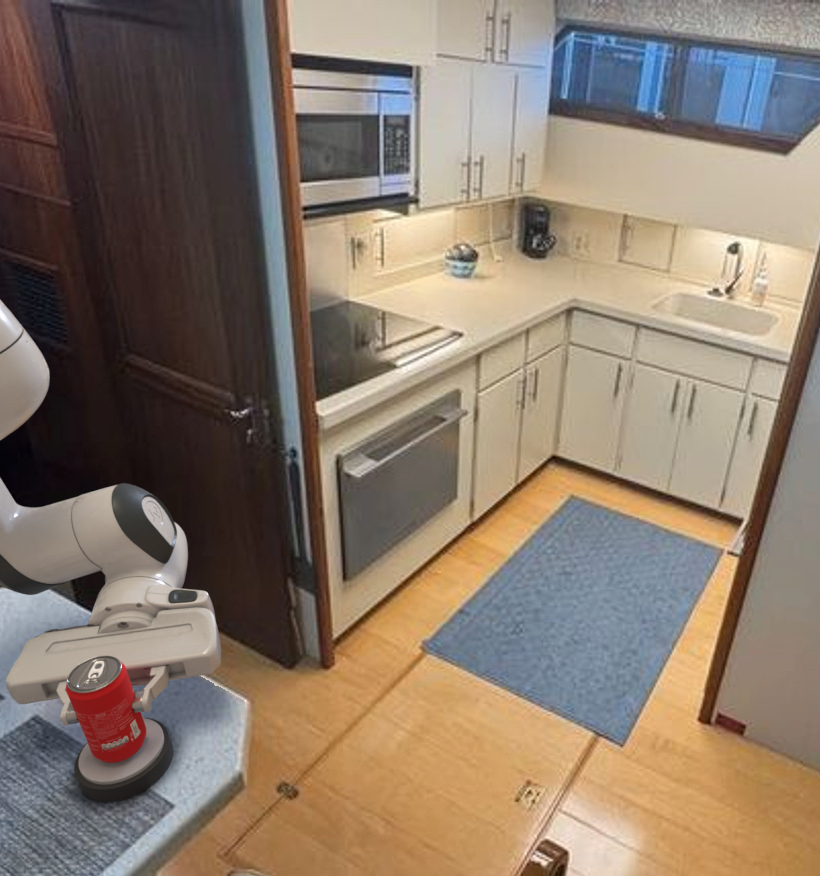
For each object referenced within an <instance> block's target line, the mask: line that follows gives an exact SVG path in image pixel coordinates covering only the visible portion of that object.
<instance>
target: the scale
mask: <svg viewBox="0 0 820 876" xmlns="http://www.w3.org/2000/svg"><path fill="white" fill-rule="evenodd" d="M143 720H144V723H145V726H146V736H145V739H144V743H143V745H142V747H141V749H140V750H139V751H138V752H137V753H136V754H135V755H133V756H132V757H130V758H129V759H127V760H125V761H122V762H118V763H105V762H103V761H101V760H100V759H97V758H96V757H94V756H93V754H92V752H91V750H90V747H89V745H88V743H87V742H86V743H85V744H84V745H83V746H82V748H81V749H80V750H79V752H78V754H77V756H76V759H75V762H74V767H73V768H74V769H73V771H74V776H75V778H76V780H77V783H78V785H79V787H80V789H81V792H82V793H83V794H84V795H85V796H86V798H89V799H90V800H92V801H96V802H99V803H113V802H114V803H115V802H120V801H125V800H128V799H130V798H133V797H136V796H138V795H139V794H141V793H143V792H144V791H146V790H148V789H149V788H150V787H153V785H154V784H155V783H157V782H158V781H159V780H160V779H161V778H162V777H163V775H165V773H166V771H167V770H168V768H169V767H170V764H171V762H172V760H173V756H174V746H173V742H172V740H171V735H170V732H169V730H168V728H167V727H166V726H165V724H163V723H162V722H161V721H159V720H157V719H155V718H150V717H143Z"/></svg>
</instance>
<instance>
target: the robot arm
mask: <svg viewBox="0 0 820 876" xmlns="http://www.w3.org/2000/svg"><path fill="white" fill-rule="evenodd" d="M50 378H51V376H50V368H49V365H48V363H47V360H46V358H45V357H44V355H43V353H42V351H41V350H40V349H39V347H38V345H37V344H36V342H35V341H34V340H33V338H32V336H30V334H29V333H28V332H27V330H26V329H25V328H24V327H23V325H22V324H21V323H20V321H19V320H18V319H17V318H16V317H15V315H14V314H13V312H12V311H11V310H10V309H9V307H7V306H6V305H5V303H4V302H3V301H2V300H1V299H0V441H2V440H3V439H5V438H6V437H8V436H9V435H11V434H12V433H14V432H15V431H17V430H18V429H20V427H21V426H23V425H24V424H26V422H27V421H28V420H29V419H30V418H31V417H32V416H33V415H34V414H35V412H36V411H37V410H38V409H39V408H40V406H41V405H42V403H43V401H44V400H45V398H46V396H47V393H48V391H49V387H50ZM188 549H189V548H188V540H187V536H186V534H185V531H184V530H183V528H182V527H181V526H180V525H179V524H178V523H177V522H176V521H174V519H173V516H172V514H171V513H170V511H169V510H168V508H167V507H166V505H165V504H164V502H163V501H162V500H160V498H159V497H157V496H156V495H154V494H153V493H150V492H149V491H147V490H145V489H144V488H142V487H140V486H137V485H134V484H131V483H126V482H121V483H119V484H114V485H110V486H108V487H103V488H99V489H97V490H94V491H89V492H86V493H82V494H80V495H78V496H75V497H71V498H68V499H64V500H61V501H57V502H54V503H51V504H46V505H44V506H37V507H31V506H23V505H20V504H19V503H17V502H16V501H15V499H14V498H13V496H12V493H10V491H9V489H8V488H7V486H6V484H5V483H4V482H3V479H2V478H1V477H0V586H1V587H3V588H4V589H7V590H9V591H11V592H15V593H17V594H21V595H26V596H27V595H28V596H35V595H39V594H41V593H43V592H46V591H48V590H51V589H53V588H54V589H55V588H56V587H59V586H60V585H63V584H66V583H68V582H70V581H72V580H75V579H78V578H82V577H85V576H89V575H91V574H95V573H97V572H102V573H103V574H104V582H105V584H104V585H103V586H102V587H101V589H100V590H99V592H98V594H97V597H96V600H95V602H94V605H93V608H92V611H91V613H90V616H89V619H88V622H87V624H83V625H75V626H70V627H66V628H60V629H59V628H53V629H48V630H44V632H43V633H42V634H39V635H36V636H34V637H33V638H32V637H31V638H29V639H28V640H26V642H25V643H24V645H23V646H22V647H23V648H22V649H21V653H20V654H19V656H18V657H17V658H16V660H15V661H14V663H13V665H12V666H11V668H10V670H9V672H8V673H7V675H6V678H5V686H6V689H7V692H8V693H9V695H10V697H11V698H12V700H13V701H15V702H16V703H17V704H18V705H27V704H28V705H29V704H34V703H41V702H45V701H52V700H57V699H58V700H59V702H60V704H61V705H62V708H61V710H60V715H59V720H60V722H61V725H62V726H64V727H65V726H69V725H76V724H80V723H79V721H78V718H77V716H76V714H75V711H74V709H73V706H72V704H71V702H70V699H69V697H68V694H67V692H66V685H67V678H68V675H69V674H70V672H71V671H72V670H73V669H74V668H75V667H76V666H77V665H79V664H80V663H82V662H84V661H86V660H88V659H91V658H94V657H98V656H113V657H116V658H117V659H119V660H120V662H122V663H123V664H124V665H125V667H126V670H127V673H128V676H129V679H130V682H131V685H132V688H134V687H139V686H143V685H144V686H145V687H144V688H143V689H139V690H133V691H134V698H133V701H132V709H134V710H133V712H134V713H140V712H141V713H146V712H151V710H152V707H153V706H152V705H153V701H154V700H155V699H156V698H157V697H158V696H159V695H160V694H161V693H162V692H163V691H164V690H165V689H166V688H167V687H168V686H169V685H168V684H169V682H171V681H175V680H177V681H178V680H182V679H188V678H189V679H190V678H193V677H194V678H195V677H201V676H208V675H211V674H213V673H215V672H216V671H217V670H218V669H219V668H220V667H221V664H222V644H221V638H220V634H219V633H220V632H219V629H218V624H217V619H216V612H215V609H214V604H213V602H212V599H211V597H210V594H209V593H208V592H207V591H205V590H201V589H189V588H183V587H184V583H185V580H186V575H187V570H188V561H189V550H188Z"/></svg>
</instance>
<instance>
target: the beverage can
mask: <svg viewBox="0 0 820 876" xmlns="http://www.w3.org/2000/svg"><path fill="white" fill-rule="evenodd" d="M134 691H135V690H134V687H132V685H131V682H130V679H129V676H128V673H127V670H126V667H125V665H124V664H123V663H122V662H120V660H119V659H117V658H116V657H113V656H98V657H94V658H91V659H88V660H86V661H84V662H82V663H80V664H79V665H77V666H76V667H75V668H74V669H73V670H72V671H71V672H70V674H69V675H68V678H67V685H66V692H67V694H68V697H69V699H70V702H71V704H72V706H73V709H74V711H75V714H76V716H77V718H78V721H79V723H78V724H79V726H80V728H81V730H82V734H83V736H84V738H85V739H86V743H88V745H89V747H90V750H91V752H92V754H93V756H94V757H96V758H97V759H100V760H101V761H103V762H105V763H118V762H122V761H125V760H127V759H129V758H130V757H132V756H133V755H135V754H136V753H137V752H138V751H139V750H140V749H141V747H142V745H143V743H144V739H145V736H146V726H145V723H144V720H143V718H144V717H143V714H142V712H140V713H134V712H133V710H134V709H132V701H133V698H134Z"/></svg>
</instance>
